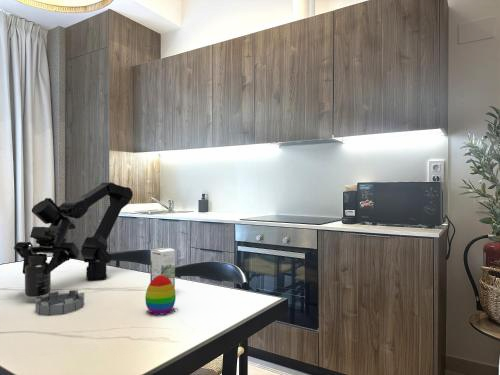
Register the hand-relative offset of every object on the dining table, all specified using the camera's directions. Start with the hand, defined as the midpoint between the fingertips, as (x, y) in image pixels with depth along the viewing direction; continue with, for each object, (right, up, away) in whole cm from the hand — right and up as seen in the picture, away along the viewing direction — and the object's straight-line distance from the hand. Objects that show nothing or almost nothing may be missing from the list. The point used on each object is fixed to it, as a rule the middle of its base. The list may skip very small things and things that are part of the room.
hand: (35, 273), depth 106 cm
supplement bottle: (0, -7, +1) cm, 7 cm away
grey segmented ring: (+11, -8, -6) cm, 15 cm away
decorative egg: (+40, -9, -8) cm, 42 cm away
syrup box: (+37, -9, +9) cm, 39 cm away
